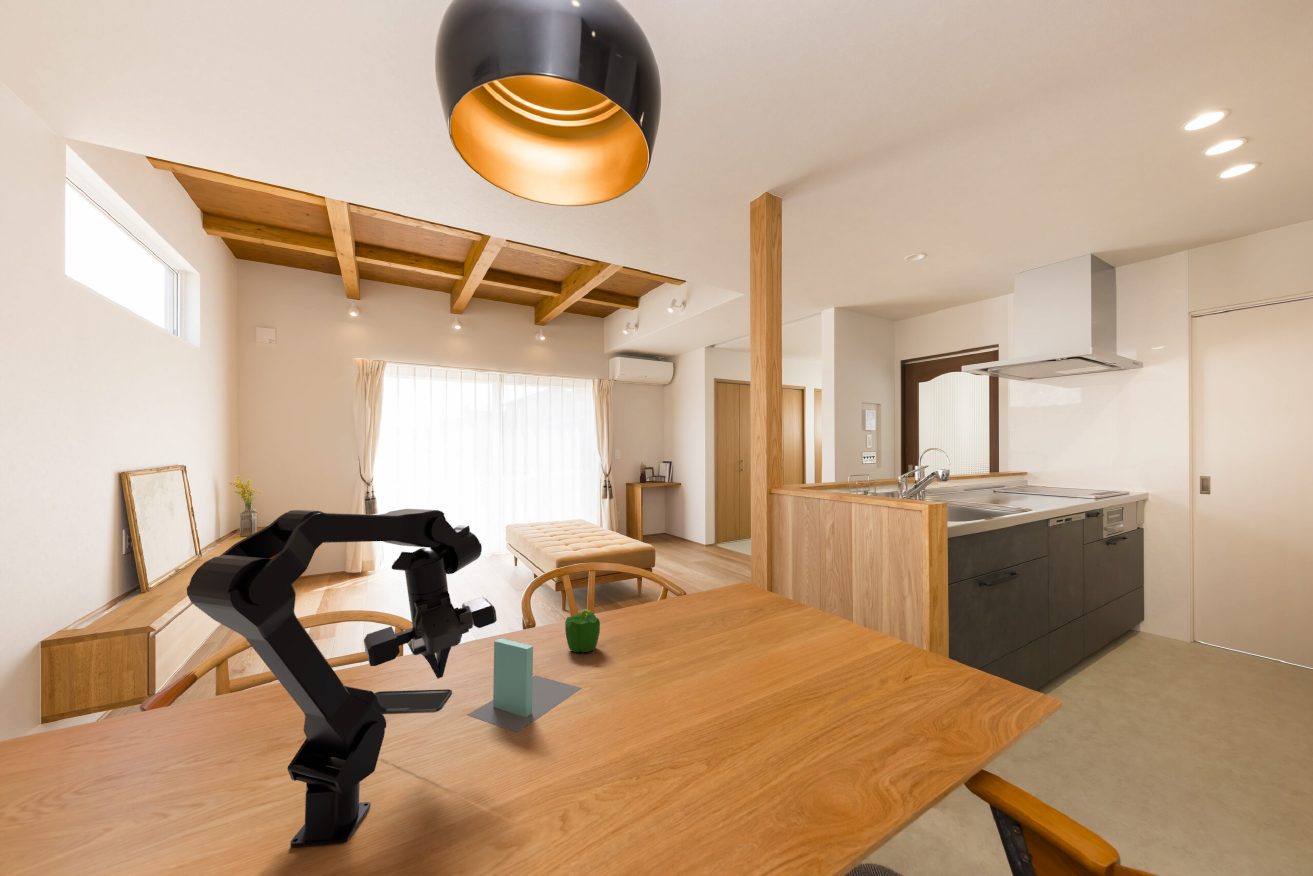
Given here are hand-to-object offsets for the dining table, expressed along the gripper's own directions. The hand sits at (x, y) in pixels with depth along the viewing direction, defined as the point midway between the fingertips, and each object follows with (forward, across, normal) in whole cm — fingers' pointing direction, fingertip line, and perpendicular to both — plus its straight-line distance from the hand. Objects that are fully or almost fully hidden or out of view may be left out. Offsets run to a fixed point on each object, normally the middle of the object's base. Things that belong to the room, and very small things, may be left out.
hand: (439, 677), depth 80 cm
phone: (+13, -4, +16) cm, 21 cm away
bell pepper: (+19, +35, +19) cm, 44 cm away
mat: (+14, +15, +3) cm, 21 cm away
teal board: (+13, +12, +1) cm, 17 cm away
